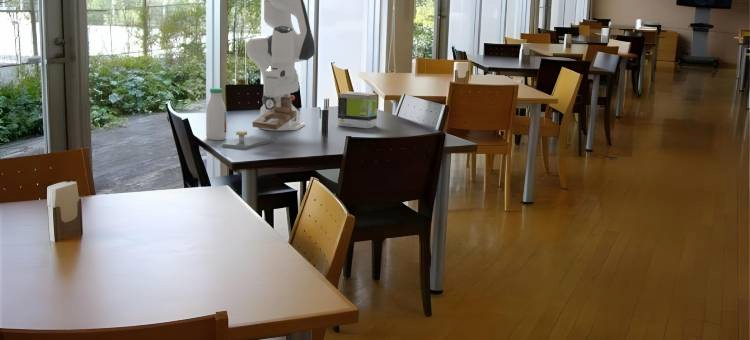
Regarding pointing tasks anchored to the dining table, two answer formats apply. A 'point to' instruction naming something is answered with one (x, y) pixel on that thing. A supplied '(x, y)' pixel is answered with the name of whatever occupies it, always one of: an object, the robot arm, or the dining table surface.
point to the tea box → (357, 109)
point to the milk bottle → (216, 116)
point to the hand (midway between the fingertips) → (282, 106)
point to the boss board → (246, 141)
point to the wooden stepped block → (276, 115)
